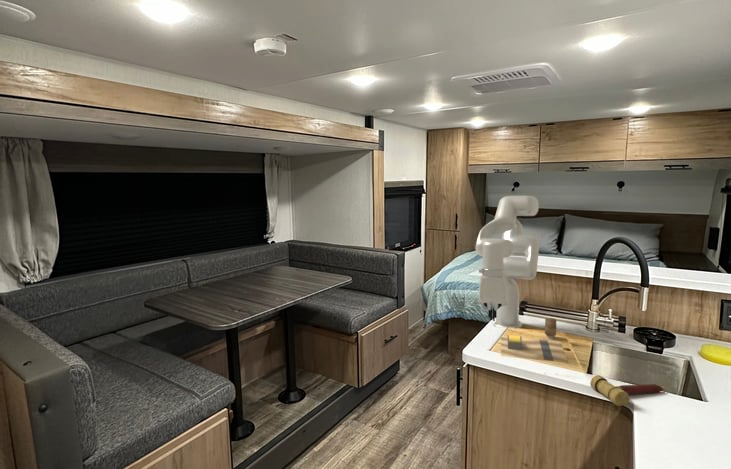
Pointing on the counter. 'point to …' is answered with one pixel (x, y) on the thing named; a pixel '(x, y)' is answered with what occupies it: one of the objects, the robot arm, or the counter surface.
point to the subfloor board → (535, 350)
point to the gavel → (622, 390)
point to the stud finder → (514, 342)
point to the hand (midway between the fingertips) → (492, 319)
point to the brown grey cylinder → (550, 328)
